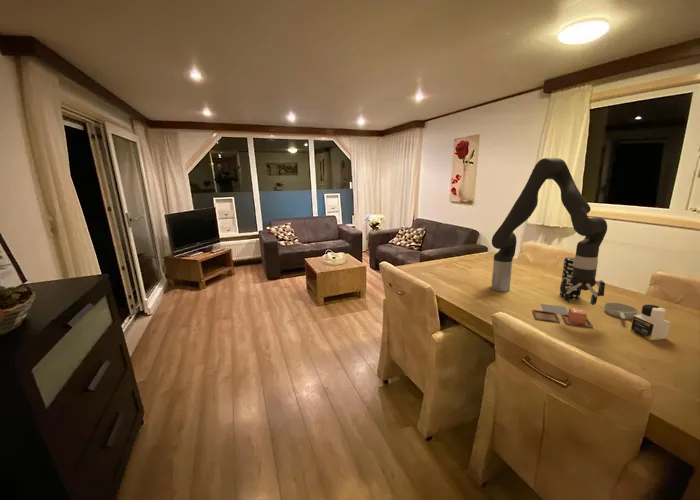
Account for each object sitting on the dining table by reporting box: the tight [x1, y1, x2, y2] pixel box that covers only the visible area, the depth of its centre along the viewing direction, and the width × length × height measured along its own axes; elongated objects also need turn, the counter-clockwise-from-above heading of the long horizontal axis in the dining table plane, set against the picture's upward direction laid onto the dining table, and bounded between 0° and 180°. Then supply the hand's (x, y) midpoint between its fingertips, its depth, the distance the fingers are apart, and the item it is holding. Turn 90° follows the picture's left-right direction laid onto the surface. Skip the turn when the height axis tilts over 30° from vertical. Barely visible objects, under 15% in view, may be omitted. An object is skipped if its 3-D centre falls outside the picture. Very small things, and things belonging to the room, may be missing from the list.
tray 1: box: [531, 309, 561, 324], centre depth 127 cm, size 9×9×1 cm
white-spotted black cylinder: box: [559, 257, 582, 301], centre depth 145 cm, size 8×8×20 cm
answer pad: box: [540, 303, 569, 315], centre depth 133 cm, size 10×10×1 cm
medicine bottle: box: [630, 304, 671, 341], centre depth 109 cm, size 7×7×12 cm
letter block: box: [568, 307, 588, 325], centre depth 121 cm, size 5×5×5 cm
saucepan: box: [604, 302, 639, 320], centre depth 123 cm, size 11×18×4 cm, turn 141°
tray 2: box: [560, 314, 594, 329], centre depth 121 cm, size 9×9×1 cm
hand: (579, 302), depth 119 cm, fingers open, 8 cm apart
